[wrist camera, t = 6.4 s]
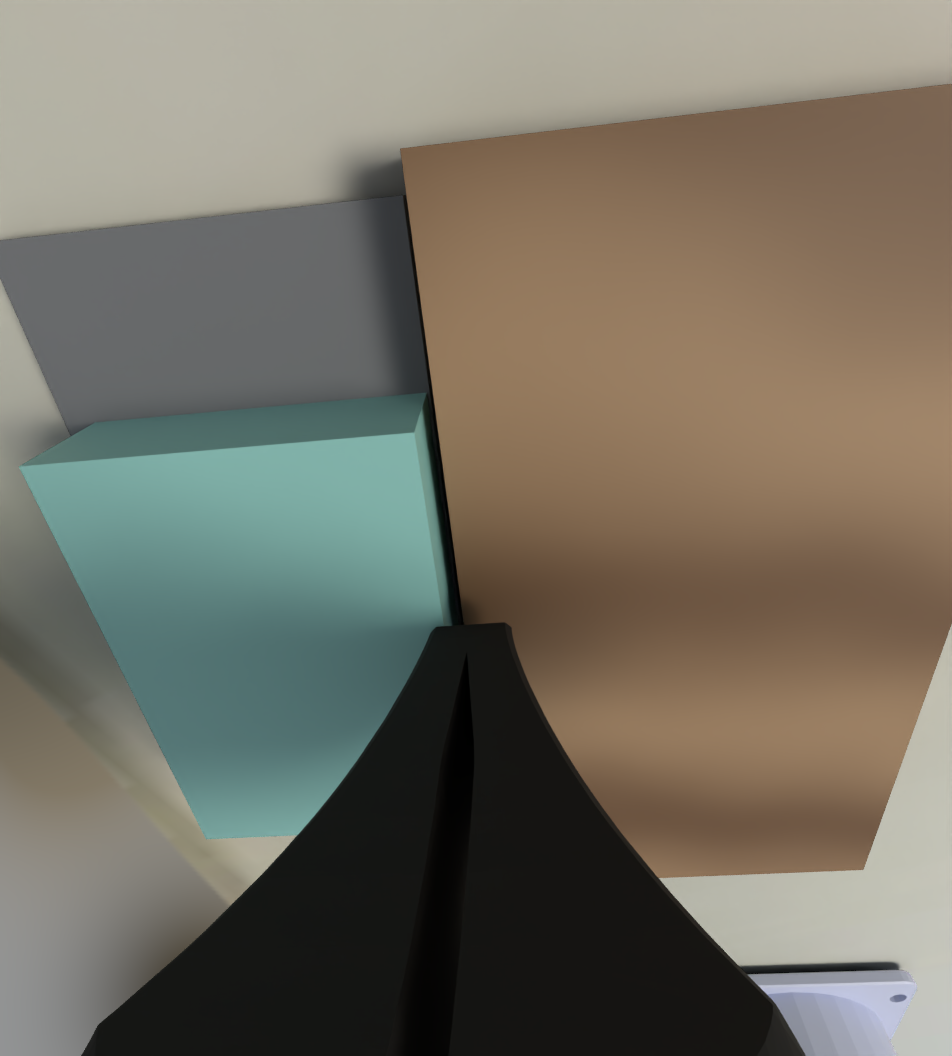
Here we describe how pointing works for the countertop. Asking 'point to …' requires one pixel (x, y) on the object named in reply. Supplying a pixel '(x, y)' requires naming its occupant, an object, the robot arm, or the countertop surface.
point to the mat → (226, 314)
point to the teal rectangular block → (258, 586)
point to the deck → (706, 453)
